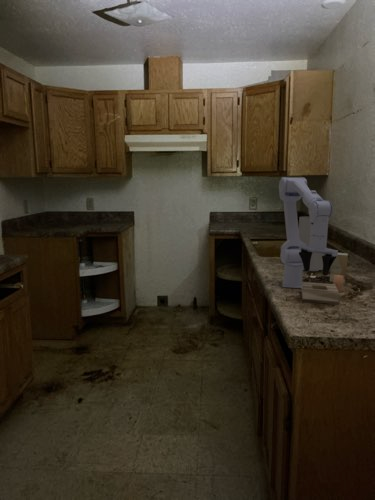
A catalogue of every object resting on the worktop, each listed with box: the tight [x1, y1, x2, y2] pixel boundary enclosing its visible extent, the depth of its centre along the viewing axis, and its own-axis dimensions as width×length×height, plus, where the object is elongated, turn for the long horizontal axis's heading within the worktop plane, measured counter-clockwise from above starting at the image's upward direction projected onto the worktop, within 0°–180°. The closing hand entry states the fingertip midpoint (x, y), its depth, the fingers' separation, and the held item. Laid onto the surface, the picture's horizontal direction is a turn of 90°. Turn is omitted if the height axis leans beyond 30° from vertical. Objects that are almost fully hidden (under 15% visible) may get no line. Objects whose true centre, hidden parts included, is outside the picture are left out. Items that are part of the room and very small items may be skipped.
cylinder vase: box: [298, 216, 325, 272], centre depth 184 cm, size 12×12×25 cm
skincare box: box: [329, 252, 349, 284], centre depth 162 cm, size 6×4×12 cm
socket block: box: [300, 281, 341, 305], centre depth 140 cm, size 12×12×4 cm
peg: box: [332, 275, 344, 293], centre depth 149 cm, size 4×4×6 cm
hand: (315, 272), depth 136 cm, fingers open, 7 cm apart
